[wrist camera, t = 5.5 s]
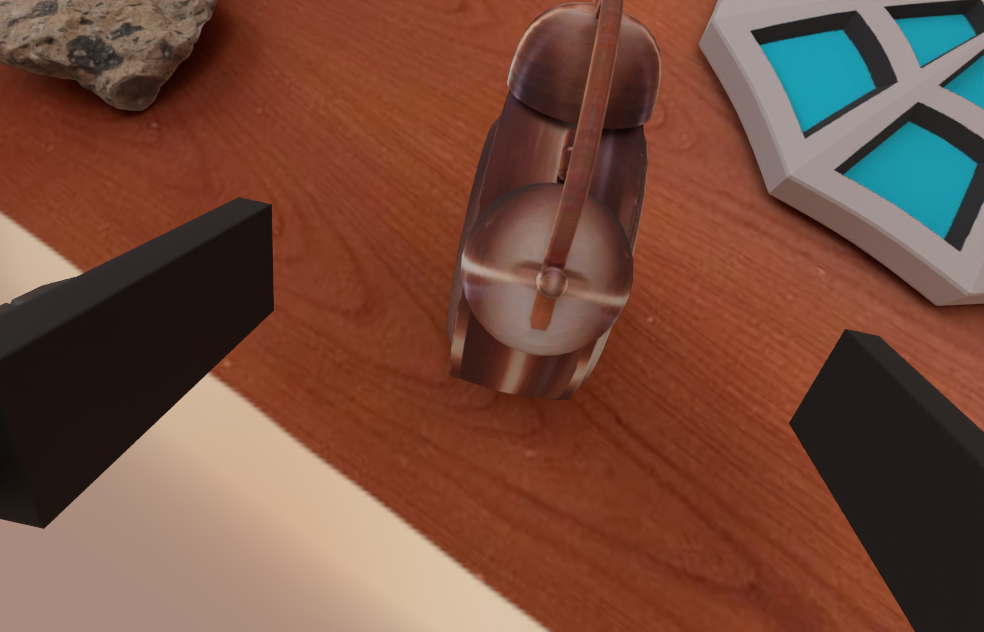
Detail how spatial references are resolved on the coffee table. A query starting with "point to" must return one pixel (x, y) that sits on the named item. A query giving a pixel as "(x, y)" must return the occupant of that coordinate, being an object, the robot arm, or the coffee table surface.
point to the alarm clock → (556, 204)
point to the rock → (103, 43)
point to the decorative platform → (868, 124)
